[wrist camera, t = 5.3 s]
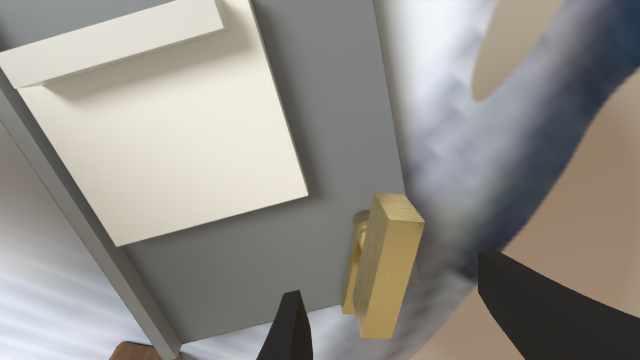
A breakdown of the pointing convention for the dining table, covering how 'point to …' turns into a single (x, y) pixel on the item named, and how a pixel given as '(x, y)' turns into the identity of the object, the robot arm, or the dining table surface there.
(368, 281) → the key
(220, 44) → the cover
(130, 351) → the wooden block
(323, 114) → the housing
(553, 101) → the dining table surface
